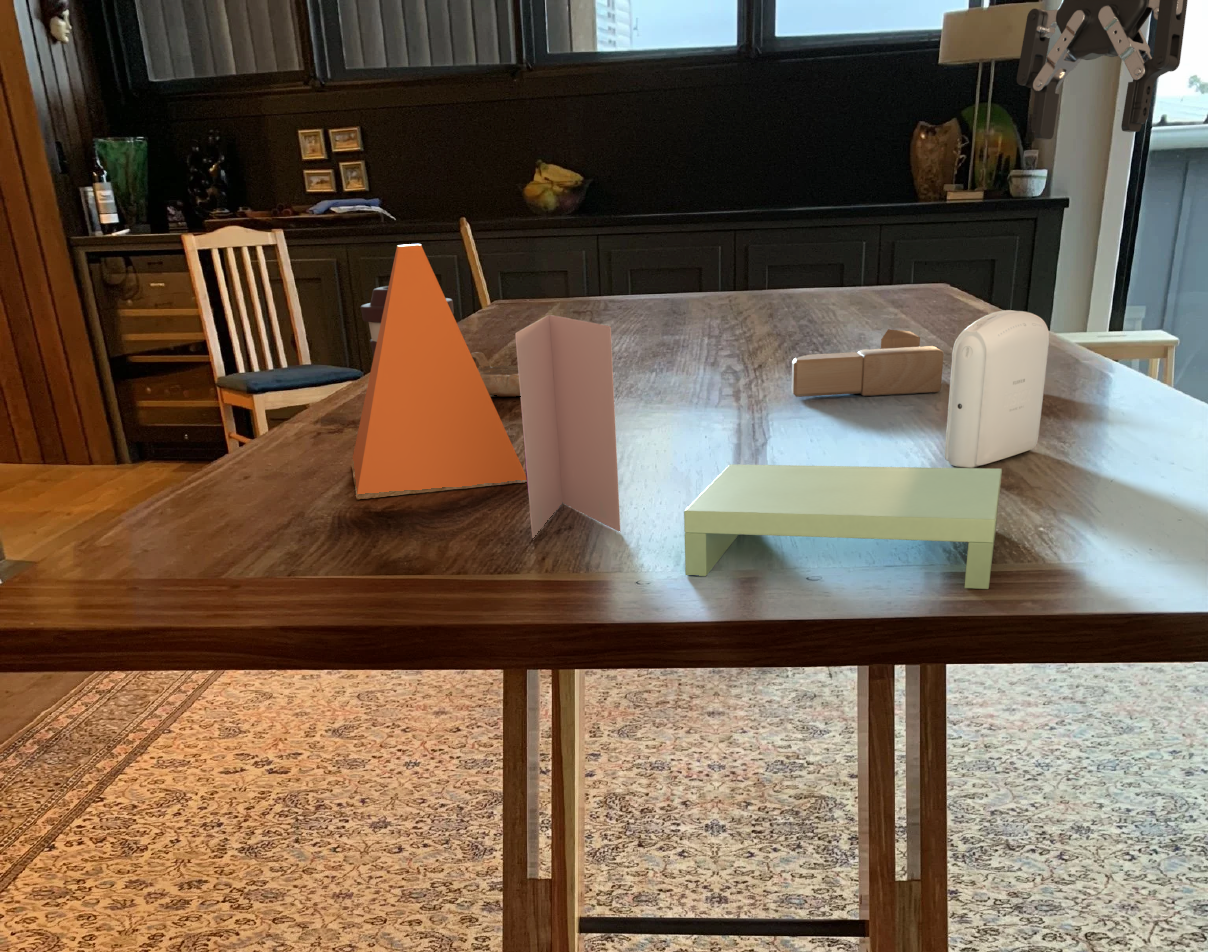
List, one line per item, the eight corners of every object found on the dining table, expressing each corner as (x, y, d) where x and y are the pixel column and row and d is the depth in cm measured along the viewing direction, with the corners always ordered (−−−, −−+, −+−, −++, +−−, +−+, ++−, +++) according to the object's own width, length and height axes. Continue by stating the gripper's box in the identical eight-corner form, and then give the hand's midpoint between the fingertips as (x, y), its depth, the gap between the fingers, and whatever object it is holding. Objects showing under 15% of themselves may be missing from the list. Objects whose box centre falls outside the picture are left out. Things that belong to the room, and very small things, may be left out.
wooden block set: (953, 341, 136) (794, 350, 137) (949, 393, 139) (793, 401, 139) (919, 323, 151) (777, 331, 152) (916, 370, 154) (776, 378, 154)
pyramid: (529, 482, 110) (509, 242, 100) (356, 500, 107) (319, 255, 98) (504, 449, 123) (485, 235, 114) (350, 464, 121) (318, 247, 111)
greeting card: (552, 502, 102) (538, 315, 95) (638, 501, 101) (630, 311, 94) (521, 540, 92) (503, 333, 85) (616, 539, 91) (605, 329, 84)
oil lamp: (560, 394, 152) (557, 353, 149) (515, 404, 147) (511, 361, 145) (496, 386, 160) (492, 347, 158) (451, 395, 156) (447, 355, 154)
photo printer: (976, 470, 104) (991, 319, 99) (936, 464, 107) (947, 316, 102) (1044, 450, 110) (1061, 305, 104) (1003, 444, 113) (1018, 303, 107)
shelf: (995, 530, 88) (1002, 468, 86) (988, 589, 76) (995, 519, 74) (729, 522, 94) (729, 464, 92) (685, 575, 82) (683, 510, 80)
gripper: (1221, -91, 99) (1182, 132, 106) (1064, -59, 109) (1037, 143, 116) (1178, -109, 95) (1140, 126, 101) (1019, -73, 105) (993, 138, 111)
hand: (1085, 135), depth 109 cm, fingers open, 8 cm apart
